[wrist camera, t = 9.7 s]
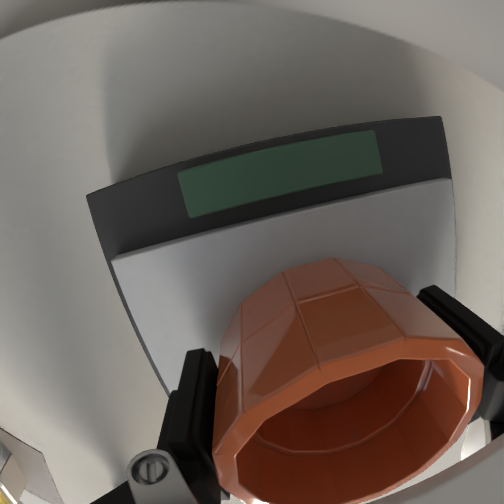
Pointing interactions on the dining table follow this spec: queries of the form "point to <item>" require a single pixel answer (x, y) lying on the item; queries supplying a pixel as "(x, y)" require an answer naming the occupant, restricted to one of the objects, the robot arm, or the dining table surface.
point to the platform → (23, 472)
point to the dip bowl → (337, 388)
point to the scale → (273, 225)
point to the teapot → (473, 438)
